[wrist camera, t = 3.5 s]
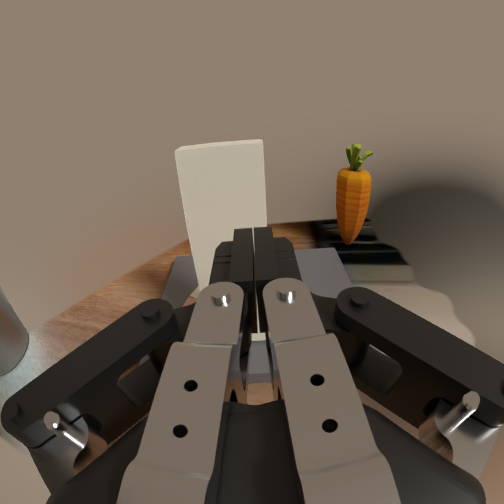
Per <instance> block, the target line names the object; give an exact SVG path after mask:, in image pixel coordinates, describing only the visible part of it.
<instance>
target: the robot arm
mask: <svg viewBox="0 0 504 504" xmlns="http://www.w3.org/2000/svg"><path fill="white" fill-rule="evenodd" d="M254 255H255V256H254ZM256 294H257V295H256ZM257 306H258V318H259V330H260V333H265V338H266V352H267V359H268V365H269V371H270V378H271V384H272V390H273V397H274V401H272V402H269V403H265V404H261V405H248V404H247V391H248V380H249V368H250V357H251V348H250V347H251V343H252V334H253V333H258V324H257ZM27 345H28V333H27V330H26V329H25V327H24V326H23V325H22V323H21V321H20V320H19V318H18V317H17V315H16V314H15V312H14V310H13V309H12V307H11V305H10V304H9V302H8V300H7V298H6V297H5V295H4V293H3V292H2V290H1V288H0V376H1V375H4V374H6V373H8V372H9V371H11V370H12V369H13V368H14V367H15V366H16V365H17V364H18V363H19V361H20V360H21V358H22V357H23V355H24V353H25V351H26V348H27ZM370 345H372V346H374V347H375V348H377V349H378V350H380V351H382V352H383V353H385V354H386V355H388V356H390V357H391V358H393V359H395V360H396V361H397V362H398V363H399V364H400V365H399V364H398V363H396V362H395V361H393V360H391V359H390V358H388V357H387V356H385V355H383V354H382V353H380V352H379V351H377V350H375V349H374V348H372V347H371V346H370ZM146 355H148V357H149V359H148V360H146V361H145V362H144V363H143V364H141V365H140V366H139V367H137V368H136V369H135V370H134V371H132V372H131V373H130V374H128V375H127V376H126V377H125V378H123V379H122V380H120V381H117V380H118V378H119V376H120V375H121V374H122V373H124V372H125V371H126V370H128V369H129V368H130V367H132V366H133V365H134V364H135V363H137V362H138V361H139V360H141V359H142V358H143V357H144V356H146ZM356 388H357V389H359V390H360V391H362V392H363V393H365V394H366V395H368V396H369V397H370V398H372V399H373V400H375V401H376V402H378V403H379V404H381V405H382V406H384V407H385V408H387V409H388V410H390V411H391V412H393V413H394V414H396V415H398V416H399V417H401V418H402V419H403V420H405V421H407V422H408V423H410V424H411V425H413V426H414V427H416V428H417V429H419V440H418V439H416V438H415V437H413V436H412V435H410V434H409V433H408V432H406V431H405V430H403V429H402V428H400V427H399V426H398V425H396V424H395V423H393V422H392V421H390V420H389V419H388V418H387V417H385V416H384V415H382V414H381V413H380V412H378V411H377V410H375V409H373V408H371V407H369V406H367V405H365V404H362V403H361V400H360V397H359V395H358V392H357V389H356ZM149 411H150V413H149V416H147V417H146V418H144V419H143V420H141V421H140V422H139V423H138V424H137V425H135V426H134V427H133V428H132V429H131V430H130V431H128V432H127V433H126V434H125V435H124V436H123V437H122V438H120V439H119V440H118V441H117V442H116V443H114V444H113V445H112V446H111V447H110V448H108V449H107V445H108V444H109V443H111V442H112V441H113V440H114V439H116V438H117V437H118V436H120V435H121V434H122V433H123V432H125V431H126V430H127V429H128V428H130V427H131V426H132V425H133V424H135V423H136V422H137V421H138V420H139V419H141V418H142V417H143V416H144V415H145V414H147V413H148V412H149ZM1 422H2V426H3V428H4V429H5V430H6V431H7V432H8V433H9V434H11V435H12V436H13V437H15V438H16V439H17V440H19V441H20V442H22V443H23V444H24V445H25V446H26V447H27V448H28V450H29V452H30V454H31V456H32V458H33V461H34V463H35V465H36V466H37V468H38V471H39V473H40V474H41V477H42V478H43V480H44V482H45V484H46V486H47V487H48V489H49V491H50V493H51V496H50V497H49V499H48V501H47V503H46V504H486V498H485V493H484V490H483V487H482V485H481V483H480V482H479V481H478V478H479V476H480V474H481V472H482V470H483V468H484V466H485V464H486V462H487V459H488V457H489V455H490V453H491V450H492V448H493V446H494V443H495V441H496V438H497V435H498V433H499V430H500V428H501V426H502V425H503V424H504V364H502V363H501V362H499V361H497V360H496V359H494V358H492V357H491V356H489V355H487V354H485V353H484V352H482V351H480V350H478V349H477V348H475V347H473V346H472V345H470V344H468V343H466V342H465V341H463V340H461V339H459V338H457V337H456V336H454V335H452V334H450V333H449V332H447V331H445V330H443V329H441V328H440V327H438V326H436V325H434V324H432V323H431V322H429V321H427V320H425V319H423V318H422V317H420V316H418V315H416V314H414V313H412V312H411V311H409V310H407V309H405V308H403V307H401V306H400V305H398V304H396V303H394V302H392V301H390V300H388V299H387V298H385V297H383V296H381V295H379V294H377V293H375V292H373V291H372V290H369V289H367V288H363V287H350V288H346V289H344V290H342V291H341V292H340V293H339V294H338V296H337V298H329V297H323V296H319V295H316V294H314V293H312V292H310V291H309V288H308V287H307V285H306V284H305V283H303V282H302V278H301V274H300V271H299V267H298V263H297V259H296V255H295V252H294V248H293V244H292V243H291V242H290V241H289V240H288V239H287V238H285V237H282V238H273V233H272V227H271V226H268V227H254V244H253V232H252V228H240V229H234V235H233V241H225V242H221V243H220V244H219V246H218V247H217V248H216V249H215V254H214V259H213V264H212V269H211V274H210V279H209V285H208V286H207V287H205V288H204V289H203V290H202V291H201V292H200V293H199V295H198V298H197V301H196V302H195V303H193V304H191V305H187V306H184V307H180V308H176V309H173V307H172V305H171V304H170V303H169V302H168V301H166V300H163V299H151V300H147V301H145V302H142V303H141V304H139V305H138V306H136V307H135V308H133V309H132V310H130V311H129V312H128V313H126V314H125V315H123V316H122V317H120V318H119V319H117V320H116V321H115V322H113V323H112V324H110V325H109V326H107V327H106V328H105V329H103V330H102V331H100V332H99V333H97V334H96V335H95V336H93V337H92V338H90V339H89V340H88V341H86V342H85V343H83V344H82V345H81V346H79V347H78V348H76V349H75V350H74V351H72V352H71V353H69V354H68V355H67V356H65V357H64V358H62V359H61V360H60V361H58V362H57V363H56V364H54V365H53V366H51V367H50V368H49V369H47V370H46V371H45V372H43V373H42V374H41V375H39V376H38V377H37V378H35V379H34V380H32V381H31V382H30V383H28V384H27V385H26V386H24V387H23V388H22V389H20V390H19V391H18V392H16V393H15V394H14V395H12V396H11V397H10V398H9V399H8V400H7V401H6V402H5V404H4V406H3V408H2V412H1Z"/></svg>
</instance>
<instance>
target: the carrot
mask: <svg viewBox="0 0 504 504" xmlns="http://www.w3.org/2000/svg"><path fill="white" fill-rule="evenodd" d="M361 147H362V146H361V145H359V144H353V145H352V152H351V148H350V147H347V148H346V153H347V157H348V160H349V163H350V167H349V168H343V169H341V170H340V171H339V172H338V176H337V192H336V210H337V220H338V227H339V231H340V234H341V237H342V239H343V242H344V243H345V244H346V245H349V244H351V243H352V242H353V241H354V239H355V238H356V237H357V235H358V233H359V232H360V230H361V228H362V225H363V222H364V220H365V216H366V213H367V209H368V203H369V198H370V191H371V177H370V174H369V173H368V172H367V171H365V170H362V169H360V167H361V164H362V163H363V161H364V160H365V159H366V158H367V157H368V156H370V155H372V154H373V153H372V151H368V152H366V153H364V154H363V155H362V157H361V156H359V157H358V155H359V153H360V150H361ZM357 158H358V160H357Z"/></svg>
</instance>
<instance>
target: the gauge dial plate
mask: <svg viewBox="0 0 504 504" xmlns="http://www.w3.org/2000/svg"><path fill="white" fill-rule="evenodd" d="M294 252H295V255H296V259H297V263H298V267H299V271H300V274H301V278H302V282H303V283H305V284H306V285H307V287H308V288H309V291H310V292H312V293H314V294H316V295H319V296H323V297H329V298H337V296H338V294H339V293H340V292H341V291H342V290H344V289H346V288H350V287H353V286H352V284H351V281H350V279H349V277H348V275H347V273H346V271H345V269H344V267H343V264H342V262H341V260H340V258H339V256H338V254H337V252H336V250H335V248H322V249H304V250H294ZM199 293H200V288H199V284H198V279H197V275H196V270H195V265H194V261H193V256H179V257H176V259H175V262H174V264H173V267H172V270H171V272H170V275H169V278H168V280H167V283H166V286H165V288H164V291H163V294H162V297H161V299H163V300H166V301H168V302H169V303H170V304H171V305H172V307H173V309H176V308H180V307H184V306H187V305H191V304H193V303H195V302H196V301H197V298H198V295H199ZM370 346H371V347H372V348H374V349H375V350H377V351H379V352H380V350H378V349H377V348H375V347H374V346H372V345H370ZM250 348H251V357H250V368H249V380H248V383H261V382H271V378H270V371H269V365H268V359H267V352H266V340H261V341H252V343H251V347H250ZM380 353H381V352H380ZM148 359H149V357H148V355H146V356H144V357H143V358H142V359H141V360H140V363H139V366H140V365H141V364H143V363H144V362H145V361H146V360H148ZM139 366H138V367H139Z"/></svg>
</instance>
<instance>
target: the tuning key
mask: <svg viewBox="0 0 504 504" xmlns="http://www.w3.org/2000/svg"><path fill="white" fill-rule="evenodd" d="M263 151H264V150H263V141H262V139H258V140H240V141H228V142H217V143H207V144H198V145H190V146H182V147H180V148H179V149H177V150H176V151H175V158H176V165H177V172H178V178H179V185H180V191H181V196H182V203H183V209H184V214H185V220H186V225H187V230H188V236H189V241H190V246H191V251H192V256H193V261H194V265H195V270H196V275H197V279H198V284H199V288H200V292H201V291H202V290H203V289H204V288H205V287H207V286H208V285H209V279H210V274H211V269H212V264H213V259H214V254H215V249H216V248H217V247H218V246H219V244H220V243H221V242H225V241H233V235H234V229H240V228H252V232H253V244H254V227H267V217H266V193H265V171H264V152H263ZM254 256H255V255H254ZM256 295H257V294H256ZM257 324H258V333H253V334H252V341H261V340H266V338H265V333H260V330H259V318H258V306H257Z"/></svg>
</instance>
